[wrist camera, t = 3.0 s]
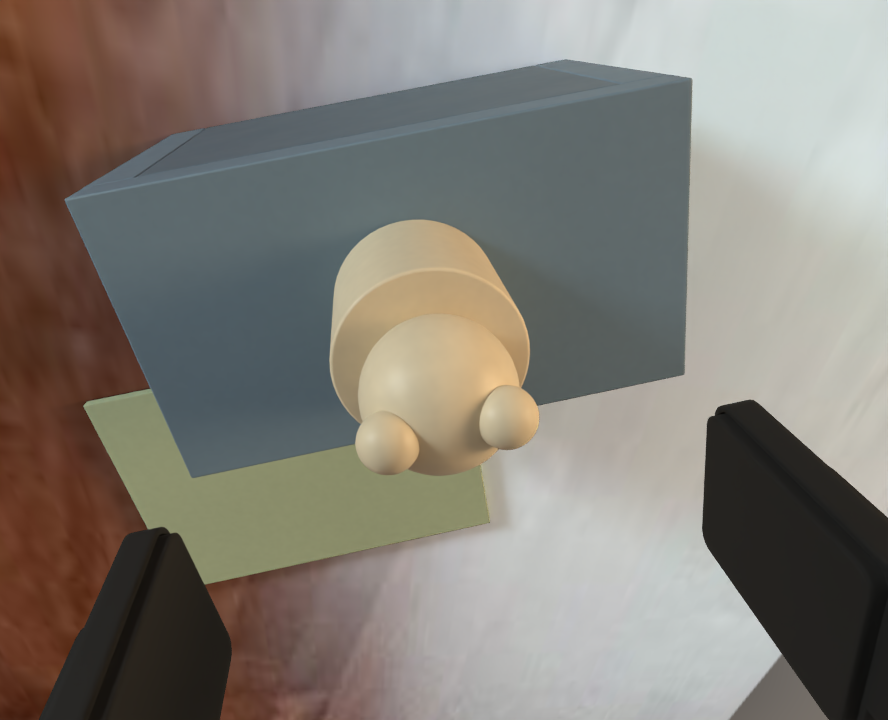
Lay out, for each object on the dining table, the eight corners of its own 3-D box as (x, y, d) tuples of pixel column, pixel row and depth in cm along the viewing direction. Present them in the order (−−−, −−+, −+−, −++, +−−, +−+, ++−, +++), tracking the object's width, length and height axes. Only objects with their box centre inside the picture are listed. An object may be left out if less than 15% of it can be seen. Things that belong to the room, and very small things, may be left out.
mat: (456, 325, 34) (457, 329, 34) (488, 517, 41) (490, 523, 40) (86, 401, 33) (82, 406, 33) (181, 584, 40) (179, 590, 40)
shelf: (567, 59, 28) (693, 77, 18) (579, 265, 33) (685, 375, 23) (171, 134, 28) (62, 198, 17) (242, 333, 33) (191, 479, 22)
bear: (485, 203, 19) (566, 309, 12) (507, 368, 22) (583, 535, 15) (315, 237, 19) (292, 365, 12) (358, 399, 21) (362, 584, 14)
